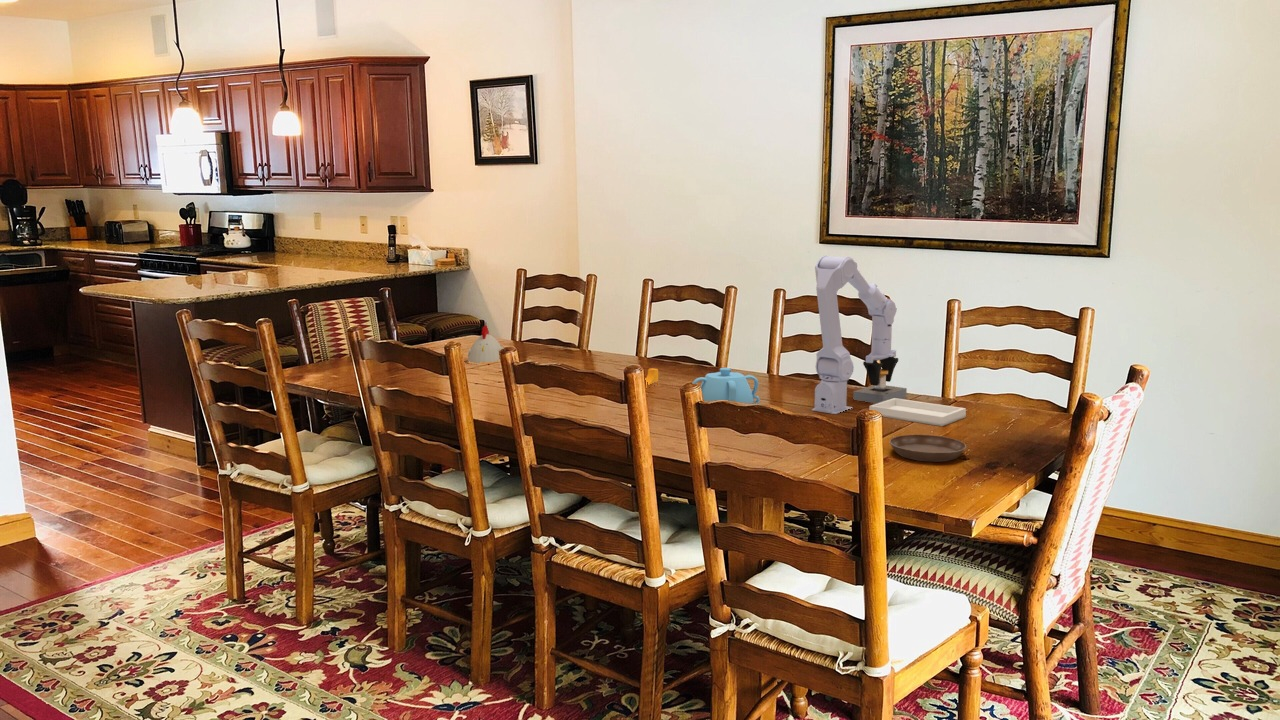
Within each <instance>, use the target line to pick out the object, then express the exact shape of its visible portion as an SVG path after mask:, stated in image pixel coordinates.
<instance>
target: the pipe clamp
mask: <svg viewBox="0 0 1280 720" xmlns="http://www.w3.org/2000/svg"><path fill="white" fill-rule="evenodd" d="M644 378H645V380H646V388H647V382H648V385H650V384H652V383H654V382H657V381H658V382H659V369H658V368H653V367H652V368H651V367H650V368H648V370H647V375H646V377H644Z"/></svg>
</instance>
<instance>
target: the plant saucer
mask: <svg viewBox="0 0 1280 720" xmlns="http://www.w3.org/2000/svg"><path fill="white" fill-rule="evenodd" d="M889 444H890V446H891V448H892V449H893V450H894V451H895V453H896V454H898V455H899V456H900V457H902V458H905V459H909V460H913V461H919V462H930V463H931V462H932V463H934V462H935V463H936V462H937V463H938V462H941V463H942V462H949V461H952V460H955V459H957V458H958V457H960V456H961V455H962V454H963V453H964V451H965V450H966V449H967V445H966V443H965V442H963V441H961V440H959V439H955V438H951V437H947V436H940V435H933V434H905V435H899V436H894V437H892V438H891V439H890V440H889Z"/></svg>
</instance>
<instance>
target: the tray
mask: <svg viewBox="0 0 1280 720" xmlns="http://www.w3.org/2000/svg"><path fill="white" fill-rule="evenodd" d="M869 410H876V411H878V412H880V413H881V414H882V416H883V417H882V416H881V417H882V418H889V419H894V420H900V421H906V422H912V423H918V424H919V423H920V424H924V425H925V424H927V425H932V426H936V427H937V426H938V427H943V426H947V425H950V424H952V423H955V422H957V421H960V420H962V419H965V418H966V417H967V415H966V414H967V413H966V412H967V408H964V407H961V406H960V407H958V406H952V405H944V404H939V403H931V402H924V401H917V400H910V399H905V398H904V399H897V398H893V399H890V400H886V401H883V402H880V403H877V404H872V405H869V409H868V411H869Z"/></svg>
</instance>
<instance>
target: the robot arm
mask: <svg viewBox="0 0 1280 720" xmlns="http://www.w3.org/2000/svg"><path fill="white" fill-rule="evenodd" d="M814 270H815V278H816V279H815V280H816V281H815V282H816V297H817V298H816V299H817V305H818V315H819V323H820V333H821V340H822V342H821V343H822V348H821V349H819V350H818V351H817V352H816V354H815V355H816V361H815V371H816V374H817V375H818V376H819V377H818V378H819V379H820V382H819V383H818V384H817V385H816V386H815V388H814V407H813V408H811V411H812V412H813V411H814V412H820V413H824V414H825V413H826V414H832V415H837V414H840V412H841V413H843V411H844V412H846V411H845V410H847V411H849V410H848V409H850V410H852V409H853V407H852V406H847V401H848V400H847V397H848V396H847V395H848V394H847V393H848V392H847V391H848V389H847V388H848V381H849V380H850V378H851V377H852V375H853V374H854V373H853V372H854V369H855V367H854V362H853V360H852V359H851V354H850V351H849V350H848V349H847V348H846V347H844V345H843V337H842V329H841V322H840V321H841V319H840V312H839V302H838V295H837V293H838V291H839V290H840V289H842V288H843V287H844V286H845V285H847V283H849V284H850V285H851V286H852V287H853V288H855V290H857V296H858V299H860V300H861V301H862V302H863V304H864V305H865V306H866V308H867V311H868V312H867V313H868V315H869V316H871V317H872V318H871V319H872V320H871V352H870V353H869V354H868V355H866V356H865V360H864V361H863V362H862V364H863V367H864V368H865V370H866V373H867V376H868V380H869V384H870V385H869V386H873V385H874V386H877V385H878V381H879V374H880V370H881V369H886V370H888V374H886V383H887V382H888V383H891V381H892V376H893V374H894V370H895V367H897V364H898V362H899V358H898V357H897V350H896V349H892V332H893V328H892V327H893V326H892V325H893V324H894V321H895V316H896V314H897V306H896V303H895V302H894V301H893V300H892V299H890V298H887V297H886V296H885V294H884V293H882V292H881V291H880V289H878V285H877V284H876V283H871V282H868V281H867V280H866V279H865V277H864V276H863V275H862V273H861V272H860V270H859V269H858V263H857V262H856V261H855V260H854V258H852V257H851V256H830V255H829V256H828V255H823V256H820V258H819V259H818V260H817V262H816V264H815V266H814ZM878 361H879V362H878ZM851 408H852V409H851Z"/></svg>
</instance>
